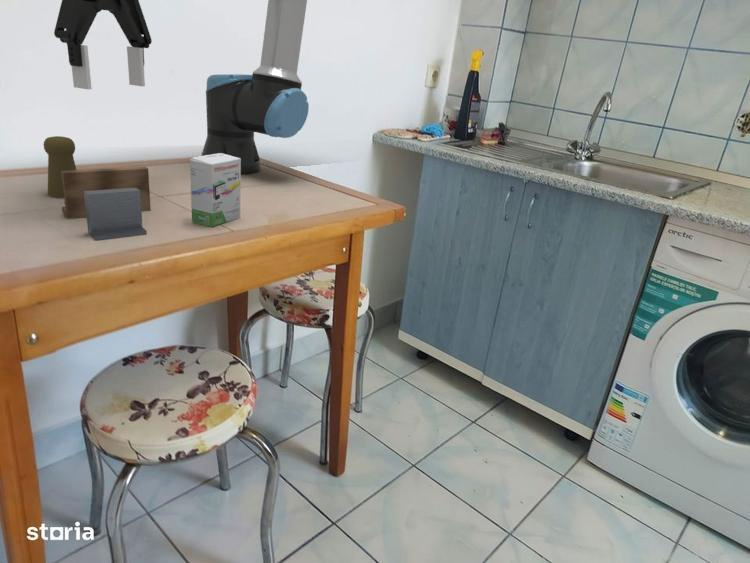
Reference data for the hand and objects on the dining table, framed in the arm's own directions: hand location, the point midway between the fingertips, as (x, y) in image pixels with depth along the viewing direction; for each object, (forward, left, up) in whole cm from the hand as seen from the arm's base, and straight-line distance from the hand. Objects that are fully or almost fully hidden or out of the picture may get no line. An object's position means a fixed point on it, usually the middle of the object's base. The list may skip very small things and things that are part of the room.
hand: (111, 87), depth 93 cm
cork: (+7, -13, -22) cm, 26 cm away
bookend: (+5, +13, -22) cm, 26 cm away
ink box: (-13, +12, -22) cm, 29 cm away
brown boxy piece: (+3, +1, -22) cm, 22 cm away
